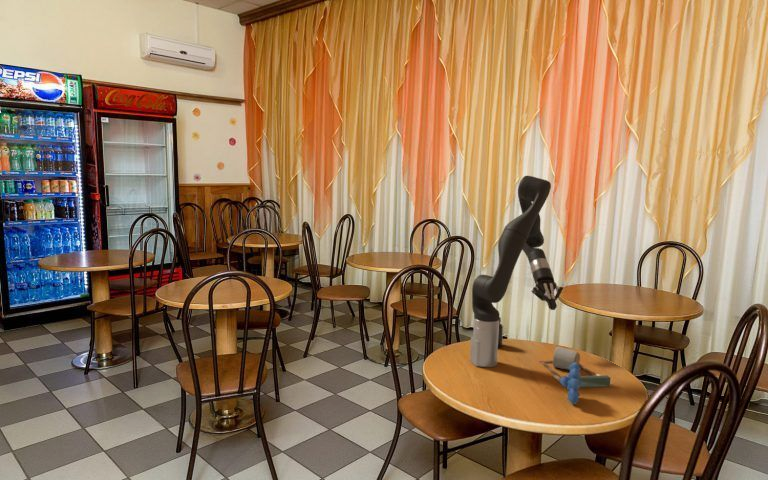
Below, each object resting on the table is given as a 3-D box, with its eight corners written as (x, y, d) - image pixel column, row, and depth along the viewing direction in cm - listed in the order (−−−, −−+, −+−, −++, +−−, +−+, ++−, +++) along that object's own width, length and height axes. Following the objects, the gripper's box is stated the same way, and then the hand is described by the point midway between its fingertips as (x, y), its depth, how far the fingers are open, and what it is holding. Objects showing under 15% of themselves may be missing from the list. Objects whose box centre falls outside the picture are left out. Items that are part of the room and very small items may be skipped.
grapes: (558, 391, 160) (560, 355, 159) (580, 394, 158) (582, 358, 157) (558, 406, 150) (560, 368, 148) (581, 410, 147) (584, 372, 146)
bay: (536, 362, 186) (536, 354, 185) (578, 360, 188) (578, 353, 188) (565, 387, 163) (566, 379, 163) (613, 386, 165) (614, 377, 165)
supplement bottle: (504, 344, 205) (505, 316, 203) (498, 349, 199) (500, 320, 198) (488, 341, 208) (490, 314, 207) (482, 346, 203) (484, 317, 201)
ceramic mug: (575, 374, 175) (576, 353, 174) (551, 369, 179) (553, 348, 178) (581, 366, 183) (583, 346, 182) (559, 361, 188) (560, 341, 187)
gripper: (528, 267, 197) (540, 304, 187) (560, 266, 199) (573, 303, 188) (523, 277, 203) (534, 314, 192) (553, 276, 205) (566, 313, 194)
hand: (553, 308), depth 190 cm, fingers closed
